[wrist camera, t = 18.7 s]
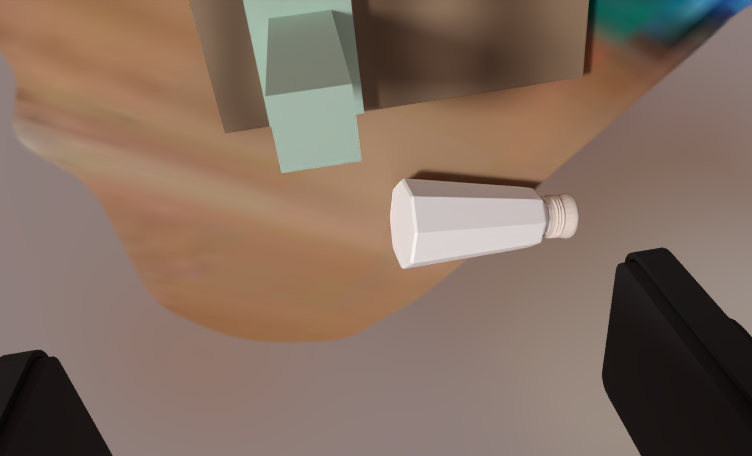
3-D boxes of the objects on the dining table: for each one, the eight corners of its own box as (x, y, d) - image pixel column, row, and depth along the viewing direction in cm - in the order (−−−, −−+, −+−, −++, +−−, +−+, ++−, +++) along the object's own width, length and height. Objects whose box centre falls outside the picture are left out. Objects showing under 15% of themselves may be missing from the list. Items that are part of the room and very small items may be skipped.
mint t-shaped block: (342, -54, 29) (373, 5, 20) (361, 104, 34) (393, 213, 24) (236, -40, 29) (218, 27, 20) (270, 118, 33) (267, 232, 24)
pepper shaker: (401, 287, 37) (565, 274, 40) (421, 237, 33) (605, 226, 35) (384, 213, 40) (539, 206, 43) (401, 159, 36) (572, 154, 38)
